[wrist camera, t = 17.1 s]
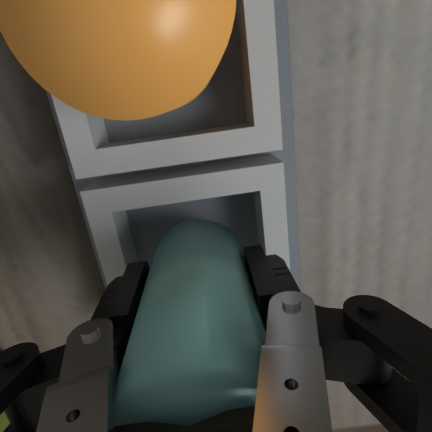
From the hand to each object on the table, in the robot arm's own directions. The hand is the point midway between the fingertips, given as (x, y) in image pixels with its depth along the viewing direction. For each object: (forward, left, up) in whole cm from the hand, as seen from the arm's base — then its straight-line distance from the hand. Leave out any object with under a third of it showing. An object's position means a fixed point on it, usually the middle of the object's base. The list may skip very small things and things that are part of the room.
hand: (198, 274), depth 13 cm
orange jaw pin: (-8, 0, -3) cm, 9 cm away
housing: (-4, 0, -4) cm, 6 cm away
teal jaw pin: (0, 0, -1) cm, 1 cm away
